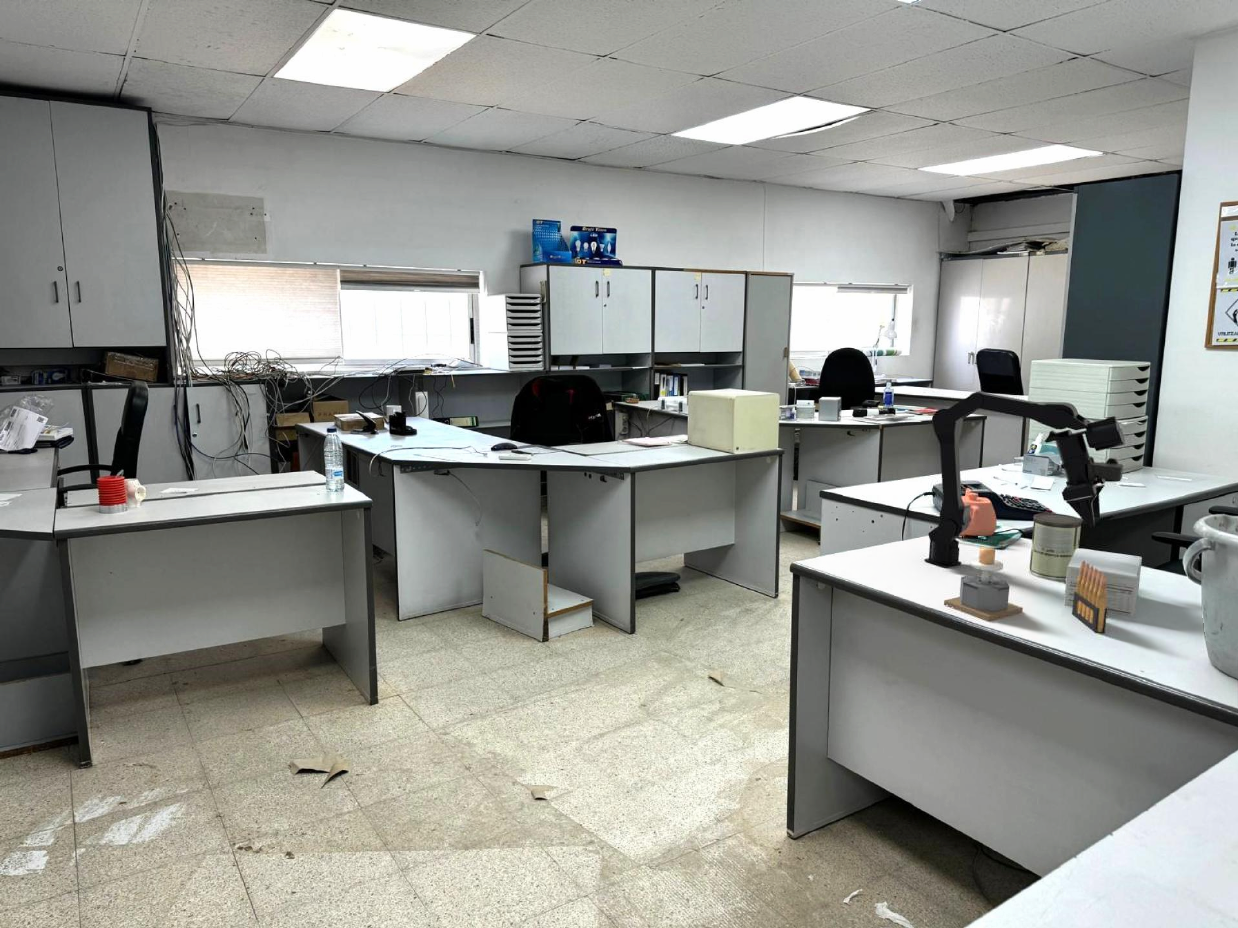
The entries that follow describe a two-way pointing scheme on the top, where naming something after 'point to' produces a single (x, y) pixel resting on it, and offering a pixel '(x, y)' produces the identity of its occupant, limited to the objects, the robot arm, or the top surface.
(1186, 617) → the top surface
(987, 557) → the pump plunger
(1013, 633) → the top surface
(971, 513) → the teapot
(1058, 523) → the coffee can
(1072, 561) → the supplement box
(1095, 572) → the ammunition clip
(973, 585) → the pump canister
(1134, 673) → the top surface
